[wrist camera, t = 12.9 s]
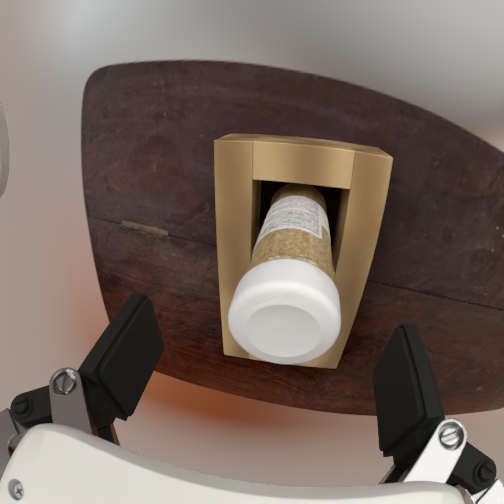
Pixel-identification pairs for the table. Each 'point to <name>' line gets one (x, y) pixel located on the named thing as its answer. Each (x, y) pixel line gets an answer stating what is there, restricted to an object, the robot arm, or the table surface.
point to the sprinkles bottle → (289, 283)
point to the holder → (303, 172)
